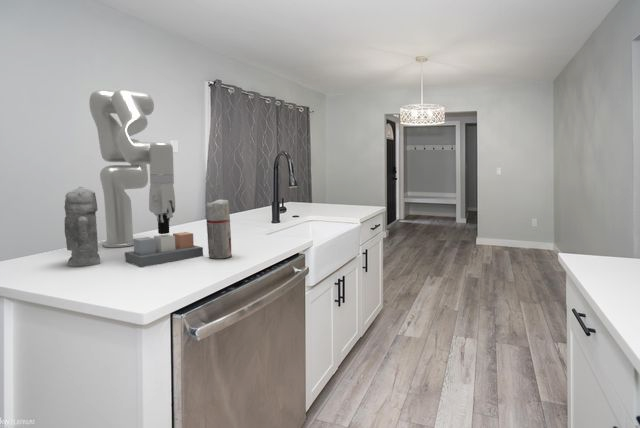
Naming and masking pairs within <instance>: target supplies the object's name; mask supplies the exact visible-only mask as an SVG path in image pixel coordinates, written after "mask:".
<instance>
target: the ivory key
mask: <svg viewBox="0 0 640 428" xmlns="http://www.w3.org/2000/svg"><path fill="white" fill-rule="evenodd" d="M153 238H154V239H155V243H156V251H158V252H166V251H172V250H175V236H173V234H172V235H171V234H169V233H167V234H159V235H154V236H153Z"/></svg>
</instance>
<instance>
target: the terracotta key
mask: <svg viewBox="0 0 640 428" xmlns="http://www.w3.org/2000/svg"><path fill="white" fill-rule="evenodd" d="M172 235H173V236H175V248H178V249H184V248H190V247H194V233H193V232H188V231H182V232H176V233H172Z"/></svg>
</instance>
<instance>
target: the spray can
mask: <svg viewBox="0 0 640 428" xmlns="http://www.w3.org/2000/svg"><path fill="white" fill-rule="evenodd" d="M205 208H206V209H205V211H206V213H205V219H206V232H207V247H208V248H207V250H208V256H209V257H208V258H210V259H214V260H215V259H216V260H217V259H218V260H219V259H226V258H231V257H232V256H233V255H232V236H231V234H232V233H231V218H230V217H231V215H230V201H229V200H227V199H216V200H214V201H213V202H208V203H206V207H205Z"/></svg>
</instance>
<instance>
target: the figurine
mask: <svg viewBox="0 0 640 428" xmlns="http://www.w3.org/2000/svg"><path fill="white" fill-rule="evenodd" d="M97 203H98V202H97V197H96V192H95V191H93V190H91V189H89V188H88V189H87V188H84V186H79V187H78V188H75V189H72V190H70V191H68V192H67V193H66V194H65V200H64V207H63V208H64V212H65V217H64V236H65V239H66V241H65V242H66V249H67V251H69V252H71V254H70V255H71V256H70V257H69V258H68V261H67V266H68V267H85V266H94V265H99V264H101V257H100V253H98V252H99V247H98V243H99V242H98V229H97V226H98V225H97V224H98V223H97V216H96V214H97V213H96V212H97V211H98V204H97Z"/></svg>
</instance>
